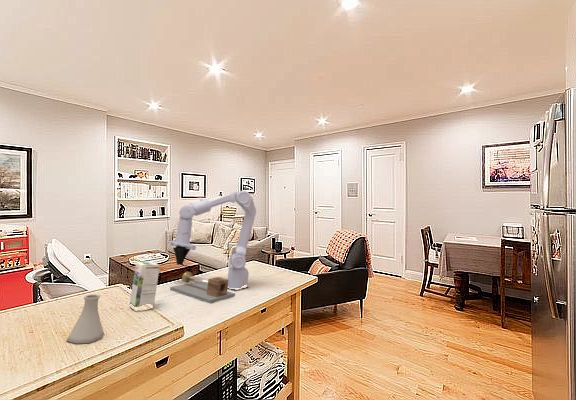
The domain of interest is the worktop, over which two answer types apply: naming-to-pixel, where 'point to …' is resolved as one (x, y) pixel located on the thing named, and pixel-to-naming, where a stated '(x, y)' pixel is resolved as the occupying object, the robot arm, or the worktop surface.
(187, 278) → the shaft
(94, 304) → the flask
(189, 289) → the base board
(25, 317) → the worktop surface
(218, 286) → the block
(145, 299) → the syrup box
